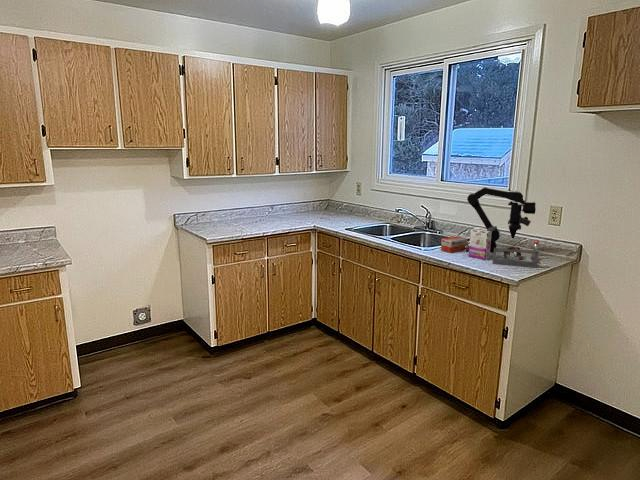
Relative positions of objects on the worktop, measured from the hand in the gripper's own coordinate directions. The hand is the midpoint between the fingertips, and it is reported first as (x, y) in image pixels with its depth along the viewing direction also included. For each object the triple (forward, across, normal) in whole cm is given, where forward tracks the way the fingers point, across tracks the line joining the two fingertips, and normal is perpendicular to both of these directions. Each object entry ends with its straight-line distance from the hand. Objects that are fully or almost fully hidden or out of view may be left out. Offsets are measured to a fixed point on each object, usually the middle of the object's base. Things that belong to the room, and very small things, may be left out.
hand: (512, 238), depth 256 cm
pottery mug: (+10, -12, -1) cm, 15 cm away
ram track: (+9, -12, -12) cm, 19 cm away
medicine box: (+10, -5, +33) cm, 35 cm away
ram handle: (+9, -9, -12) cm, 18 cm away
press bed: (+9, -26, 0) cm, 28 cm away
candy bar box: (+10, -18, +18) cm, 28 cm away
